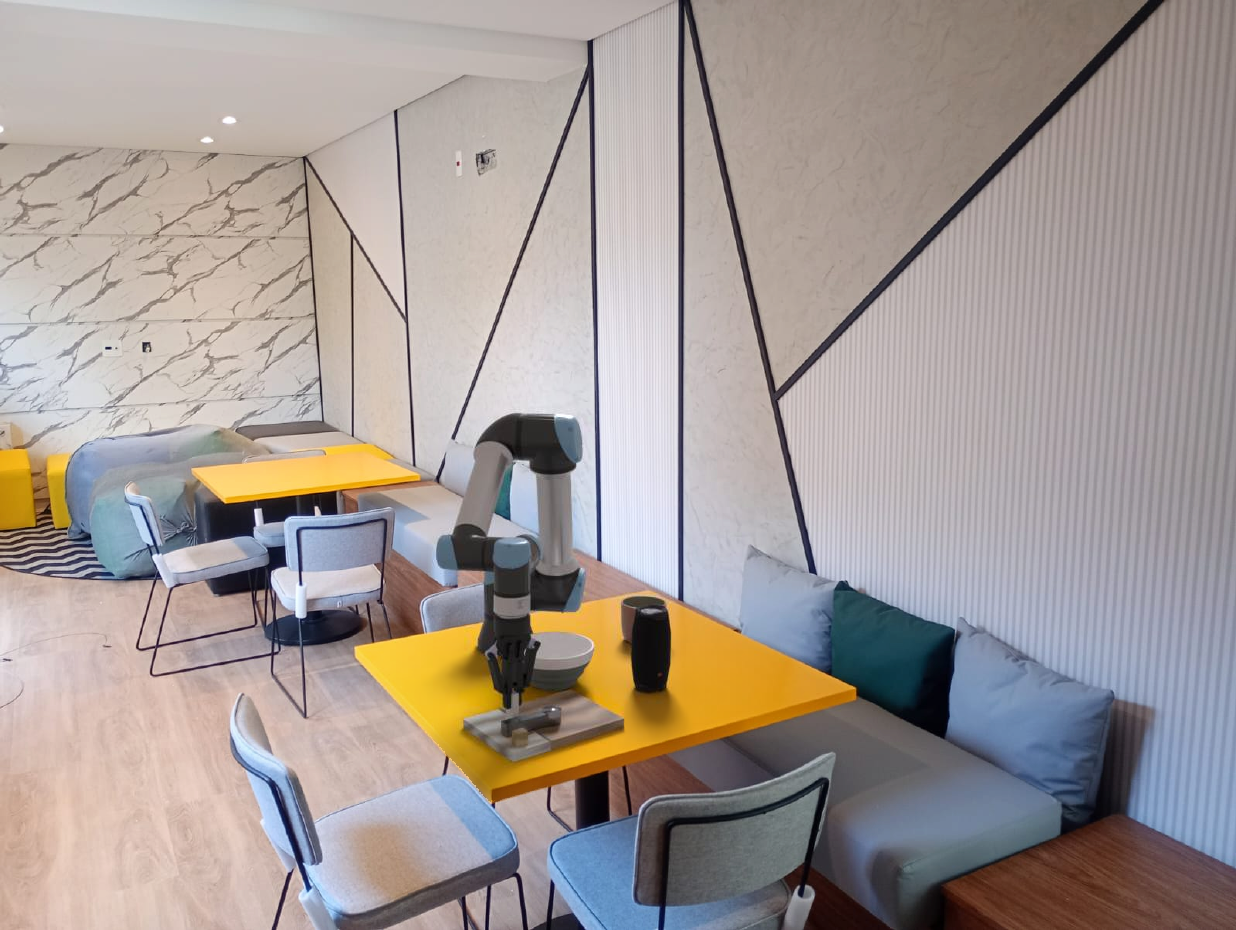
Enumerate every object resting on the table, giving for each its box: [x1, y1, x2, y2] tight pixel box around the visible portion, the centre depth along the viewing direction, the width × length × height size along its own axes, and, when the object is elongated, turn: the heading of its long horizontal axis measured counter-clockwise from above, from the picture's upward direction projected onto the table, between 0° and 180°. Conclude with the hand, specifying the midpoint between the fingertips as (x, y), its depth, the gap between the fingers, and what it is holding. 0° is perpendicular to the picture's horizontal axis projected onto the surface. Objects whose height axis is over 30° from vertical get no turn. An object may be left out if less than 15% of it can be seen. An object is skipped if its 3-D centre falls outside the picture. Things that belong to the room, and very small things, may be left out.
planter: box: [620, 595, 667, 644], centre depth 263 cm, size 12×12×11 cm
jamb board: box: [462, 688, 625, 763], centre depth 207 cm, size 20×28×5 cm
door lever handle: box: [501, 705, 561, 736], centre depth 202 cm, size 14×4×3 cm, turn 125°
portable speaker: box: [630, 604, 672, 694], centre depth 229 cm, size 9×9×20 cm
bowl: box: [523, 631, 595, 692], centre depth 232 cm, size 20×20×10 cm
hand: (512, 721), depth 203 cm, fingers closed
